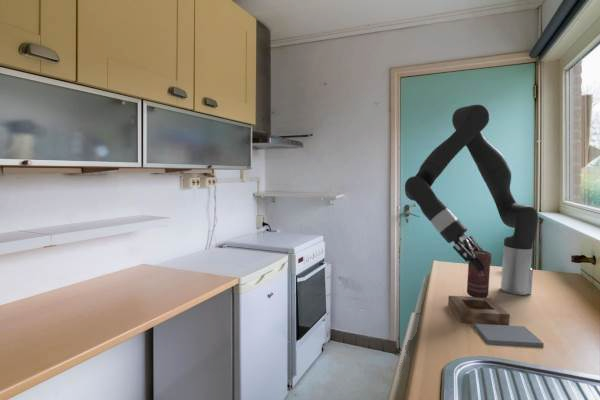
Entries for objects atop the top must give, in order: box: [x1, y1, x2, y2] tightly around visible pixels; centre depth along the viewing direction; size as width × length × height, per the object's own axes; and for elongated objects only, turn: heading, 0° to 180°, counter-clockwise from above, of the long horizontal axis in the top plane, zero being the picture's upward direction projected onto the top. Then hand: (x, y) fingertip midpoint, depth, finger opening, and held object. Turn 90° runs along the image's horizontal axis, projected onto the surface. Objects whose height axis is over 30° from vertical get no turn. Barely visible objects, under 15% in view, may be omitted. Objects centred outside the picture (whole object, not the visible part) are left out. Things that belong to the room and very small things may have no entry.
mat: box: [473, 324, 545, 348], centre depth 101 cm, size 14×10×1 cm
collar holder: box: [447, 295, 511, 326], centre depth 115 cm, size 14×14×4 cm
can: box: [466, 250, 492, 298], centre depth 114 cm, size 6×6×14 cm
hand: (485, 267), depth 113 cm, fingers closed on can, 6 cm apart
